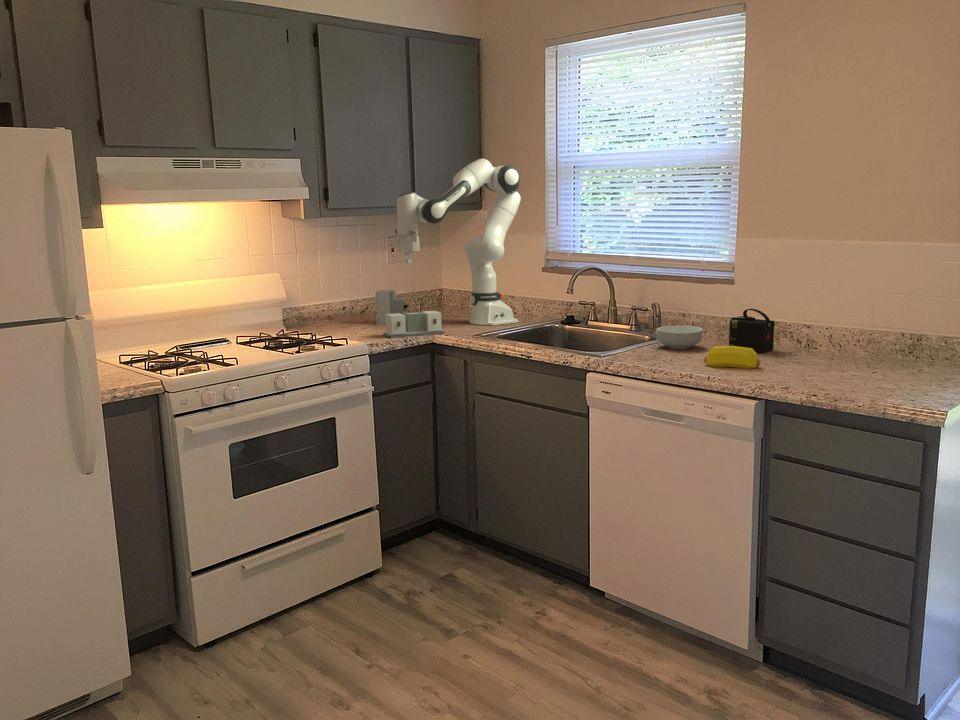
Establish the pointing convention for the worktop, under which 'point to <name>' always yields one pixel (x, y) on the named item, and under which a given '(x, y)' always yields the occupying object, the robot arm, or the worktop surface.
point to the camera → (752, 332)
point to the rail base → (398, 329)
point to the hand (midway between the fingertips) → (408, 262)
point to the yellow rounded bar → (732, 357)
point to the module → (414, 322)
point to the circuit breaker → (388, 305)
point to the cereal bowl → (679, 336)
